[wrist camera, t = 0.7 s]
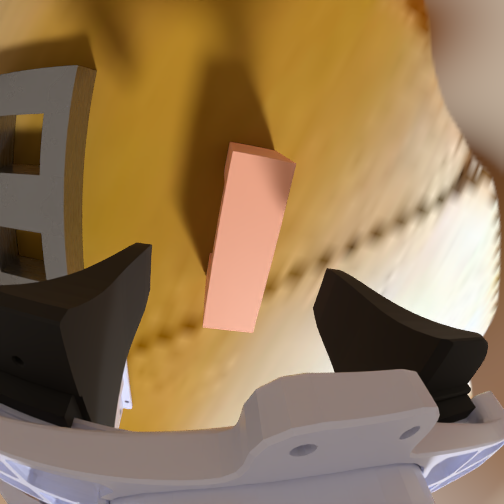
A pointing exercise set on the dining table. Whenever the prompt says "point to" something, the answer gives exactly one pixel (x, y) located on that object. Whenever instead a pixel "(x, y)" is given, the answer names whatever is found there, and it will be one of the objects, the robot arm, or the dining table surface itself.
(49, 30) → the dining table surface
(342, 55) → the dining table surface
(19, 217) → the gray block with cutout
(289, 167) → the tall salmon pink prism
